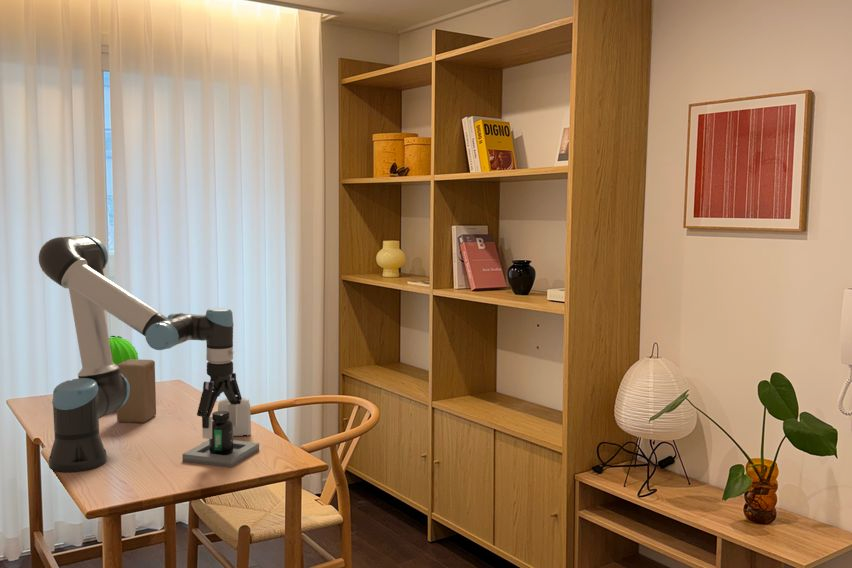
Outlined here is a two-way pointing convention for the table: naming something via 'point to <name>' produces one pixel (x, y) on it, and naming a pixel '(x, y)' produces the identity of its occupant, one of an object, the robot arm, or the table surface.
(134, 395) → the wooden block
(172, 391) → the table surface
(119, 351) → the potted cactus
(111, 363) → the robot arm
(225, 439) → the supplement bottle
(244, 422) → the photo printer
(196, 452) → the base plate
